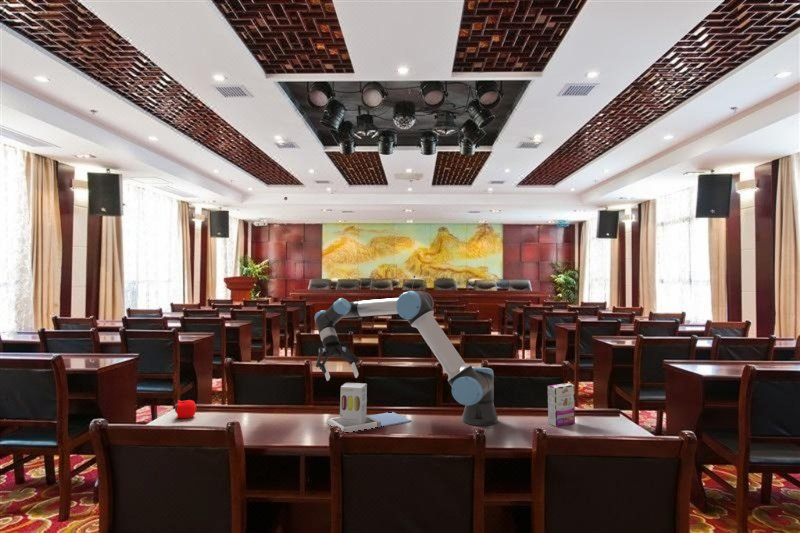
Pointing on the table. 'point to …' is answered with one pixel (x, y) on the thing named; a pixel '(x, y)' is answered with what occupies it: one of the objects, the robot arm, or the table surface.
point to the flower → (186, 409)
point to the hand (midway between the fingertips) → (343, 377)
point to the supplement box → (353, 404)
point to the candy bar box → (561, 405)
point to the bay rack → (371, 421)
